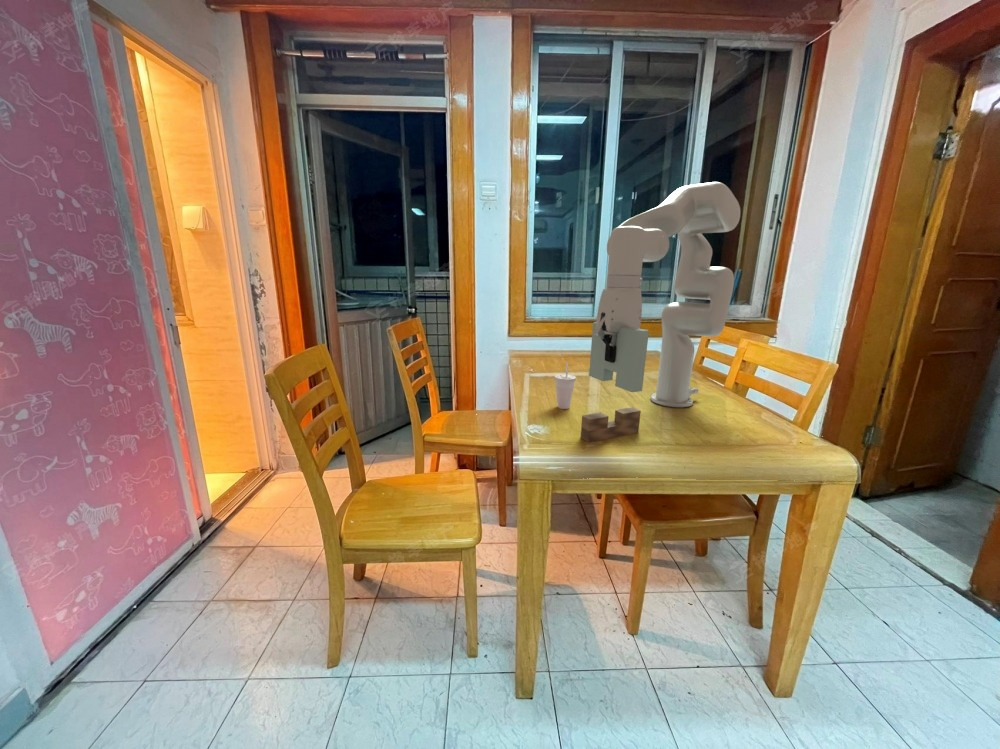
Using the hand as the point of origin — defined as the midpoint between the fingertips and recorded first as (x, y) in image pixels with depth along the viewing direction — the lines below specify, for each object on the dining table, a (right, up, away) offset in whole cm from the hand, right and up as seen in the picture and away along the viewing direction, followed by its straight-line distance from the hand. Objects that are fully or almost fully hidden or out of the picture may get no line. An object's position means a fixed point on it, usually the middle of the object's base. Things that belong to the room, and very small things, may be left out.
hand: (615, 360), depth 97 cm
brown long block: (0, -19, +5) cm, 20 cm away
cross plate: (0, -5, +1) cm, 6 cm away
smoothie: (-9, -14, +26) cm, 31 cm away
